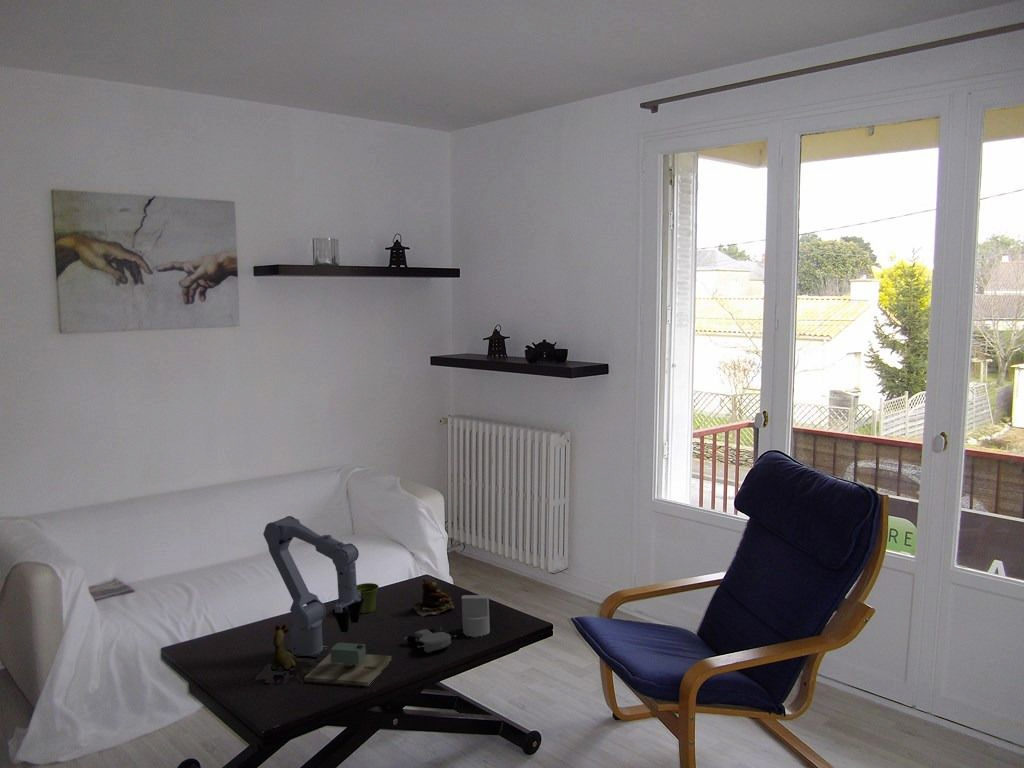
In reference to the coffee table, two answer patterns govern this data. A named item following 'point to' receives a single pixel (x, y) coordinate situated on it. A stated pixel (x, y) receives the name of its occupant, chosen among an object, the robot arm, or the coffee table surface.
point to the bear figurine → (432, 600)
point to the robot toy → (430, 640)
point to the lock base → (349, 670)
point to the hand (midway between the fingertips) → (349, 627)
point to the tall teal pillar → (348, 653)
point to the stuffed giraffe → (281, 652)
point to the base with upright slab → (475, 615)
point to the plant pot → (368, 596)
